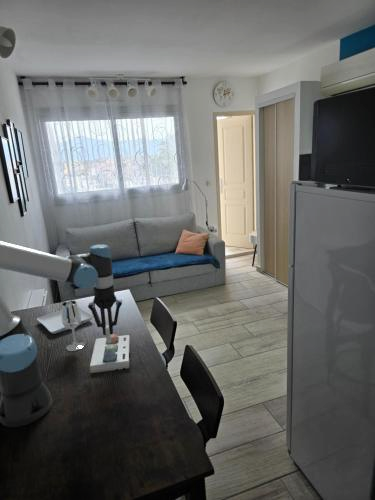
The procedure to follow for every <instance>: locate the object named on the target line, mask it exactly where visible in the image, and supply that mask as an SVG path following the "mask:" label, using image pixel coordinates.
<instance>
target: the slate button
mask: <svg viewBox="0 0 375 500" xmlns="http://www.w3.org/2000/svg"><path fill="white" fill-rule="evenodd" d="M115 361H116V354H115V351H112V350H110V351H107V352H105V353H104V362H105V363H107V362H115Z"/></svg>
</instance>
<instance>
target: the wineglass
mask: <svg viewBox="0 0 375 500" xmlns="http://www.w3.org/2000/svg"><path fill="white" fill-rule="evenodd" d="M78 307H79V306H78V303H77V301H76V300H67V301H64V302H63V303H62V304H61V310H62V313H61V320H62V324H63V326H65V327H66V328H68V330H71V332H72V336H73V342H71V343H69V344H67V346H66V350H67V351H68V352H76V351H79V350H82V349H83V348H84V347H85V345H86V344H85V342H84V341H78V340H77V341H76V335H75V329H76V328H78V327H79V326H80V325H79V324H80V323H81V314H80V311H79V308H78Z"/></svg>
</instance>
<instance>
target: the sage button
mask: <svg viewBox="0 0 375 500" xmlns="http://www.w3.org/2000/svg"><path fill="white" fill-rule="evenodd" d="M105 349H106V352H107V351H110V350H112V351H115V352H117V346H116V345H115V344H110V345H107V346H106V347H105Z"/></svg>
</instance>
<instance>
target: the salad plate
mask: <svg viewBox="0 0 375 500" xmlns="http://www.w3.org/2000/svg"><path fill="white" fill-rule="evenodd" d="M78 308H79V311H80V314H81V323H80V324H79V326H81V325H83V324H86V323H88V322H90V321H91V320H93V319H94V316H93V314H92V313H90V312H88V311H85V310H84V309H82V308H81V307H80V306H78ZM61 313H62V309H61V310H57V311H54V312H51V313H49V314H45V315H42V316H39V317H37V318H36V321H38V322H39V323H40V324H41V325H42V326H44V327H45V328H46V329H47V331H49V332H50V333H51V334H59V333H63V332H65V331H68V330H69V329H68V328H66V327H65V326H63V324H62V320H61Z"/></svg>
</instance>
